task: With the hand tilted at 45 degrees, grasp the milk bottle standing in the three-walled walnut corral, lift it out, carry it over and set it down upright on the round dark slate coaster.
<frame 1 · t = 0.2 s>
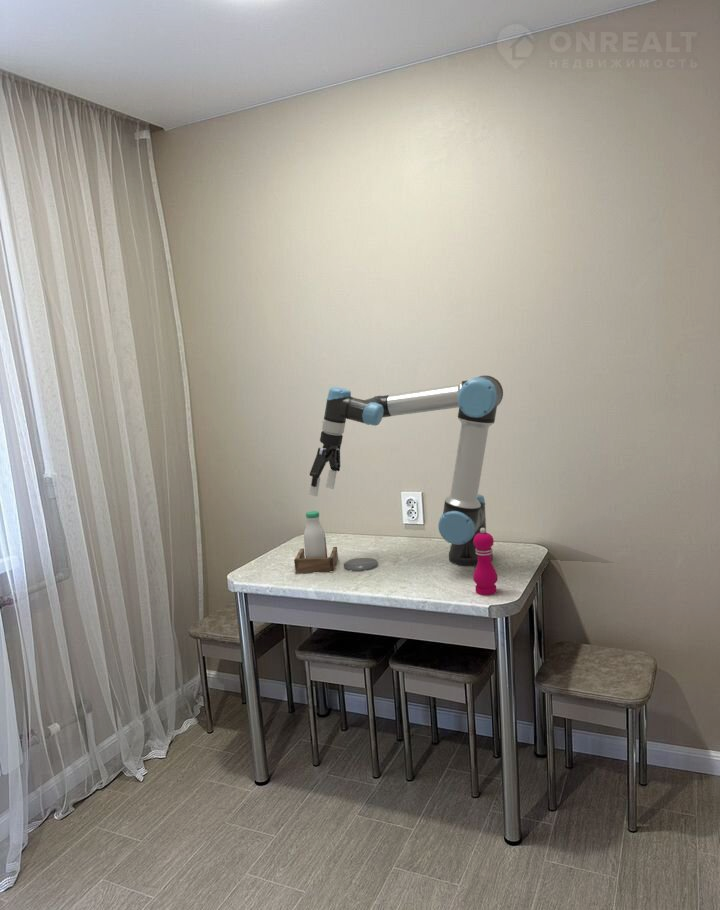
hand: (321, 491, 245), 27 cm above the table, tool tilted 15°, fingers open, 13 cm apart
coaster: (360, 565, 248), on the table
corral: (317, 566, 251), on the table
pepper mill: (486, 592, 214), on the table
milk bottle: (317, 567, 251), on the table
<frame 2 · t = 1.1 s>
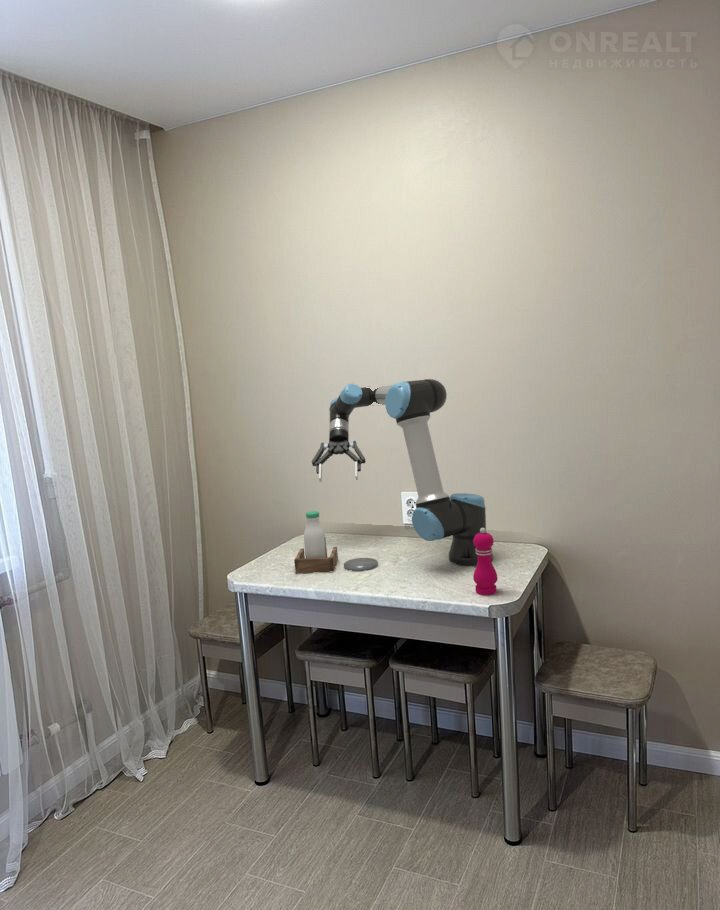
hand: (338, 479, 261), 28 cm above the table, tool tilted 45°, fingers open, 13 cm apart
nothing on the table moved.
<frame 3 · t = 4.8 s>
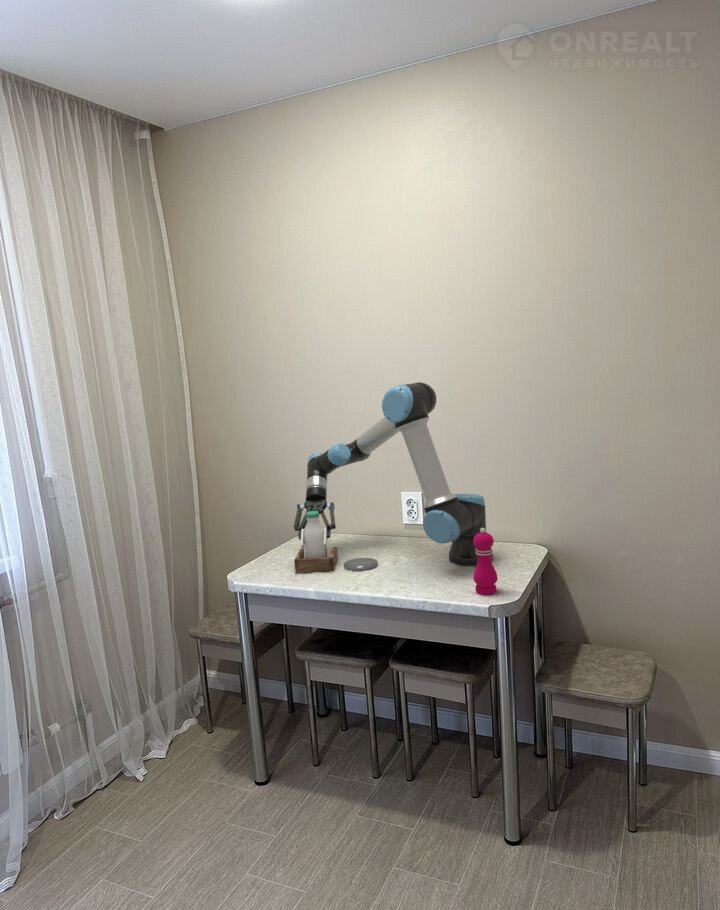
hand: (313, 546, 246), 9 cm above the table, tool tilted 45°, fingers closed on milk bottle, 7 cm apart
milk bottle: (317, 567, 251), on the table, touching gripper
everything else where it was.
when the fingers open (11 cm above the table, at t = 10.1 s): milk bottle drops 1 cm, resting on coaster.
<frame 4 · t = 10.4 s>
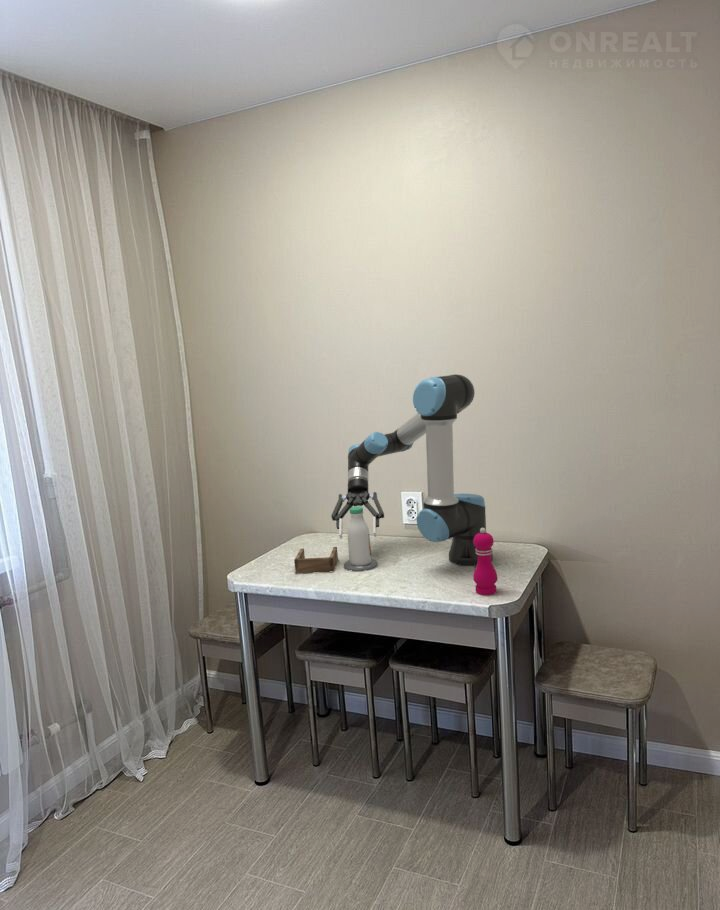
hand: (357, 535, 243), 12 cm above the table, tool tilted 45°, fingers open, 11 cm apart
milk bottle: (360, 563, 248), point 1 cm above the table, touching coaster
everything else where it was.
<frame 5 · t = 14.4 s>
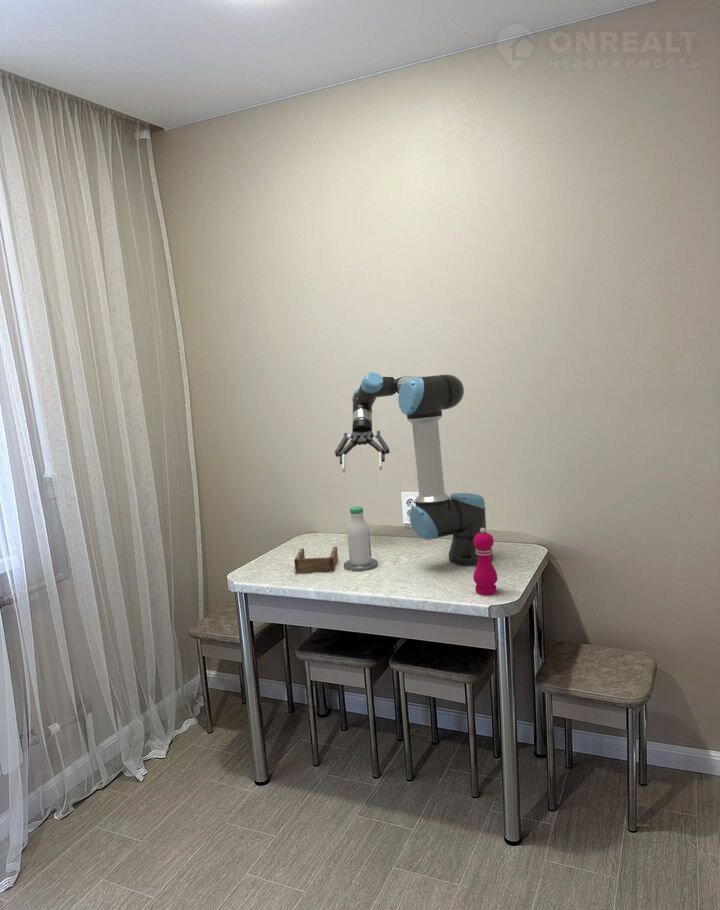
hand: (362, 469, 257), 32 cm above the table, tool tilted 45°, fingers open, 13 cm apart
nothing on the table moved.
at the end: milk bottle inside the target area on the coaster (0.1 cm from its centre), point 0.8 cm above the coaster's base; milk bottle tilted 0°; the gripper is holding nothing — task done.
